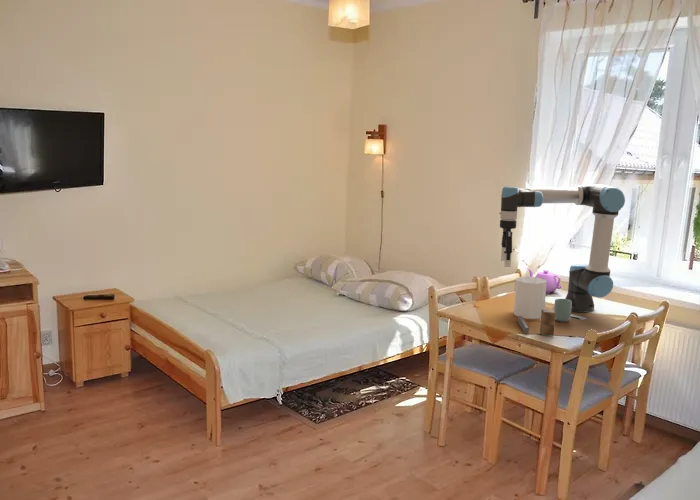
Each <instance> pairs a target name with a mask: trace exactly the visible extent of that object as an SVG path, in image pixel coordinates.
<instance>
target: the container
mask: <svg viewBox="0 0 700 500" xmlns="http://www.w3.org/2000/svg"><path fill="white" fill-rule="evenodd" d="M546 284H547V281H546V280H545V279H542V278H537V277H535V276H533V277H530V276H519V277H516V278H515V288H514V289H515V291H514V292H515V293H514V294H515V295H514V304H513V305H514V307H513V315H514V316H516V317H518V316H522V318H523V319H528V320H539V319H540V320H541V311H542V309H546V296H547V294H546Z"/></svg>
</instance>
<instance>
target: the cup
mask: <svg viewBox="0 0 700 500" xmlns="http://www.w3.org/2000/svg"><path fill="white" fill-rule="evenodd" d="M553 307H554V308H553V310H554V311H555V313H556V314H555V321H557V322H562V323H563V322H564V323H565V322H568V321H569V320H571V319H570V318H571V316H572V311H571V309H572V301H571V300H568V299H565V298H556V299H554V306H553Z"/></svg>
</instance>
